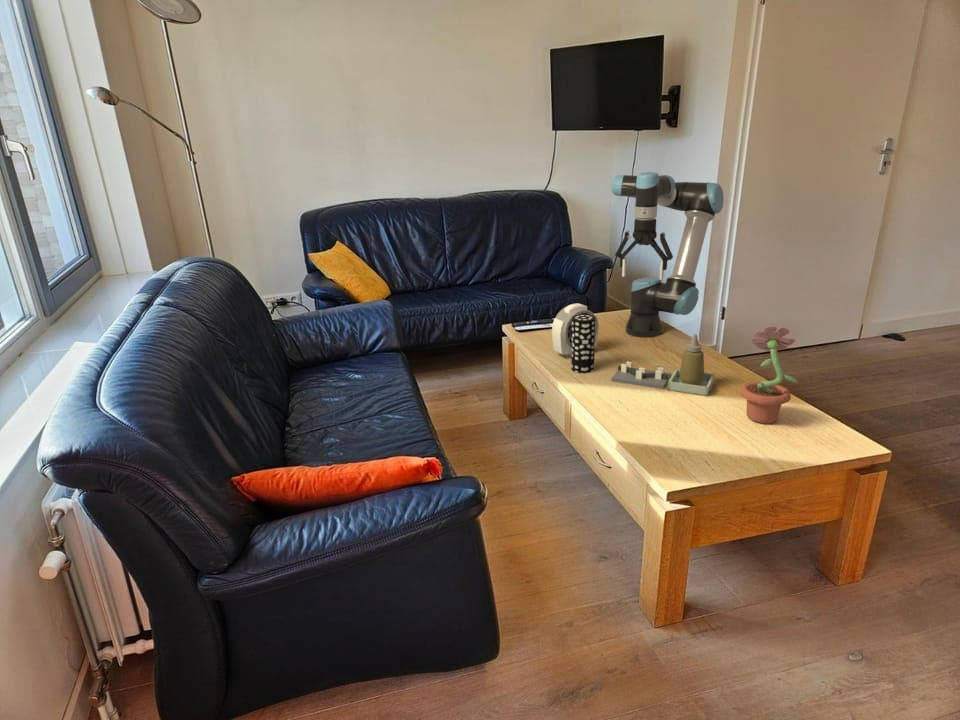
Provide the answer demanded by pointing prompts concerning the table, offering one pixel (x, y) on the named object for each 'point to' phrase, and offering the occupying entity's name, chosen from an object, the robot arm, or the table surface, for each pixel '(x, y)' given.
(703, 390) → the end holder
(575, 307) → the alarm clock
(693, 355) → the squeeze bottle
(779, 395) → the decorative flower
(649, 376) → the grey peg board
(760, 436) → the table surface
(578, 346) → the white-spotted black cylinder
